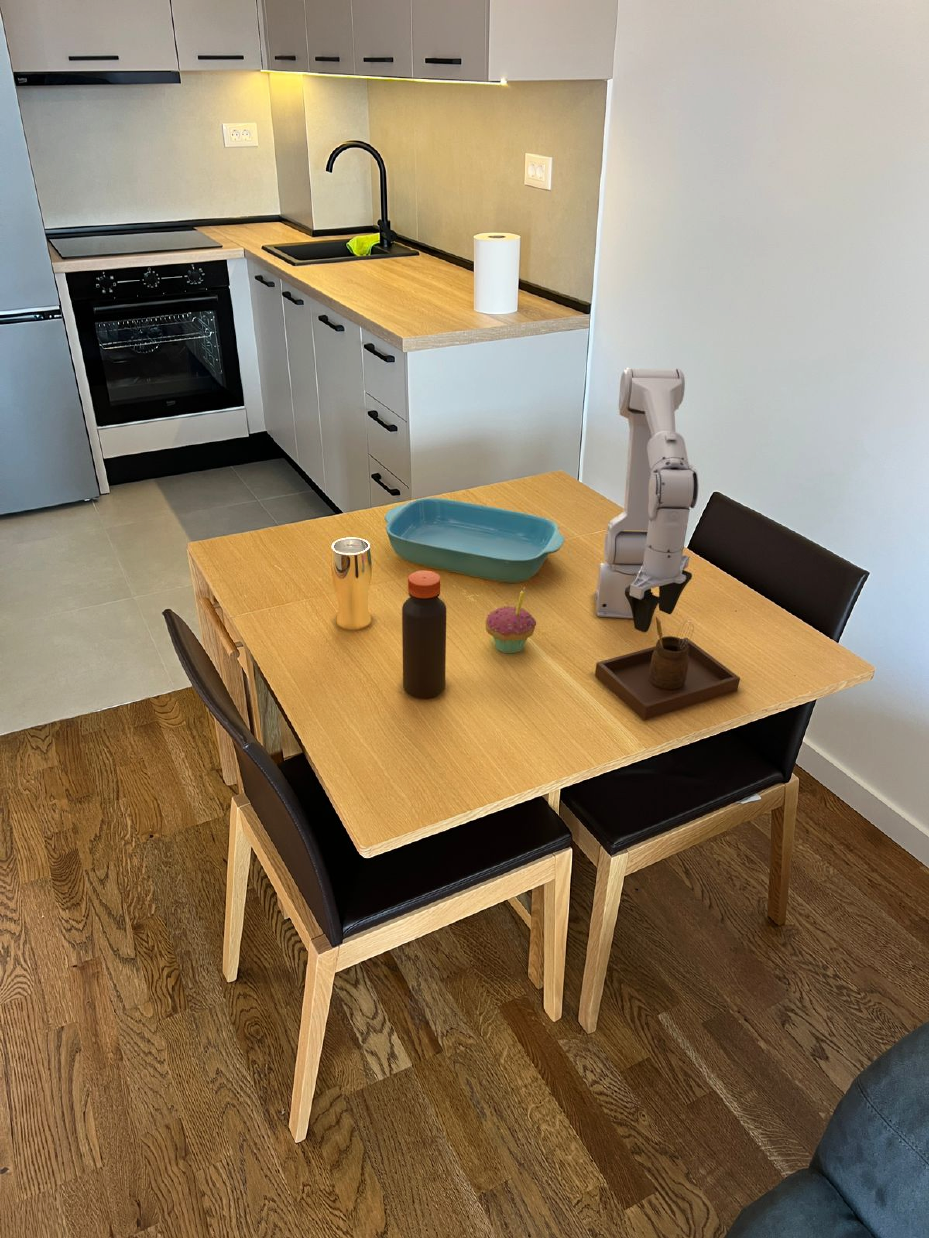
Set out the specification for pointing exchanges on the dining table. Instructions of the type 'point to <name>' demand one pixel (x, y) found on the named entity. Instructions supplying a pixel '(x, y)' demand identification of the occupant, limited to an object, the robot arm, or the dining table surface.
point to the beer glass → (352, 581)
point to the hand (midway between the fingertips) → (653, 620)
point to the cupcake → (510, 627)
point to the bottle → (424, 636)
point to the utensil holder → (669, 660)
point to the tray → (651, 701)
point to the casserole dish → (472, 538)
